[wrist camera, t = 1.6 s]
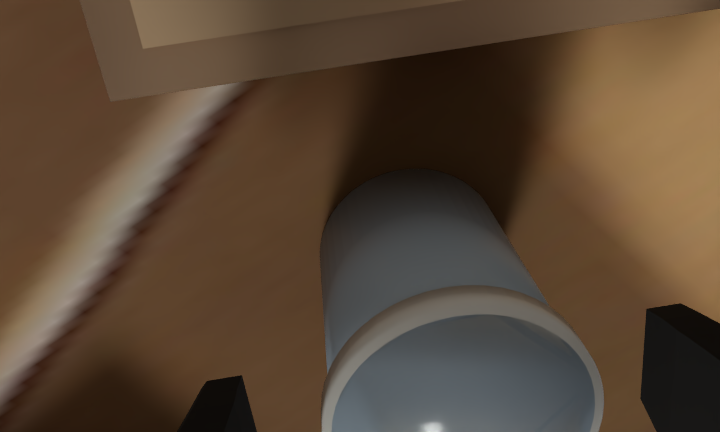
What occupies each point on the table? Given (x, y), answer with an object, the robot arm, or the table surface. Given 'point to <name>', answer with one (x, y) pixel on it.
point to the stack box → (318, 34)
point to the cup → (442, 320)
